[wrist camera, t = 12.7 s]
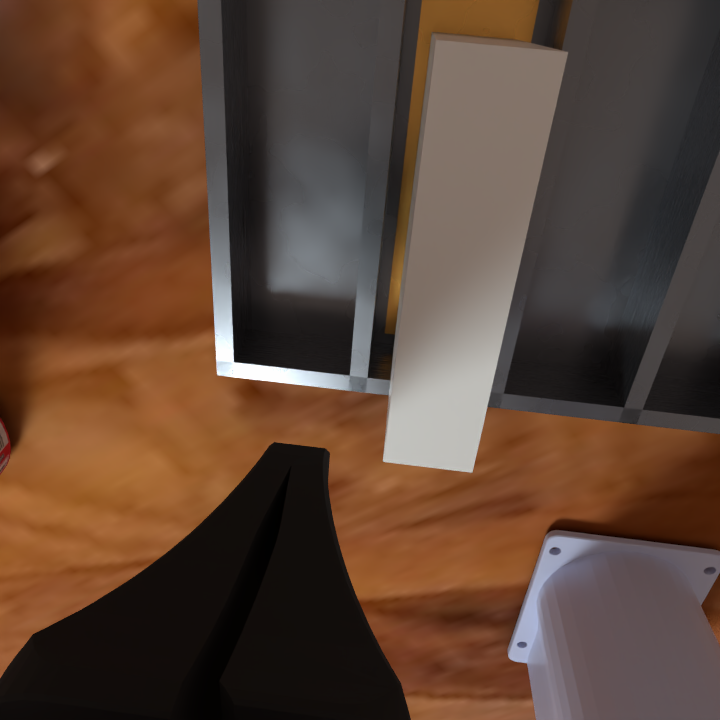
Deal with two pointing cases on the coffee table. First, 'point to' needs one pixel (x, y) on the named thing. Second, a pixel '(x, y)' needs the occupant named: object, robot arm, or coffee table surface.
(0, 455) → the soda can
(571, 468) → the coffee table surface
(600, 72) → the rack
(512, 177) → the panel
